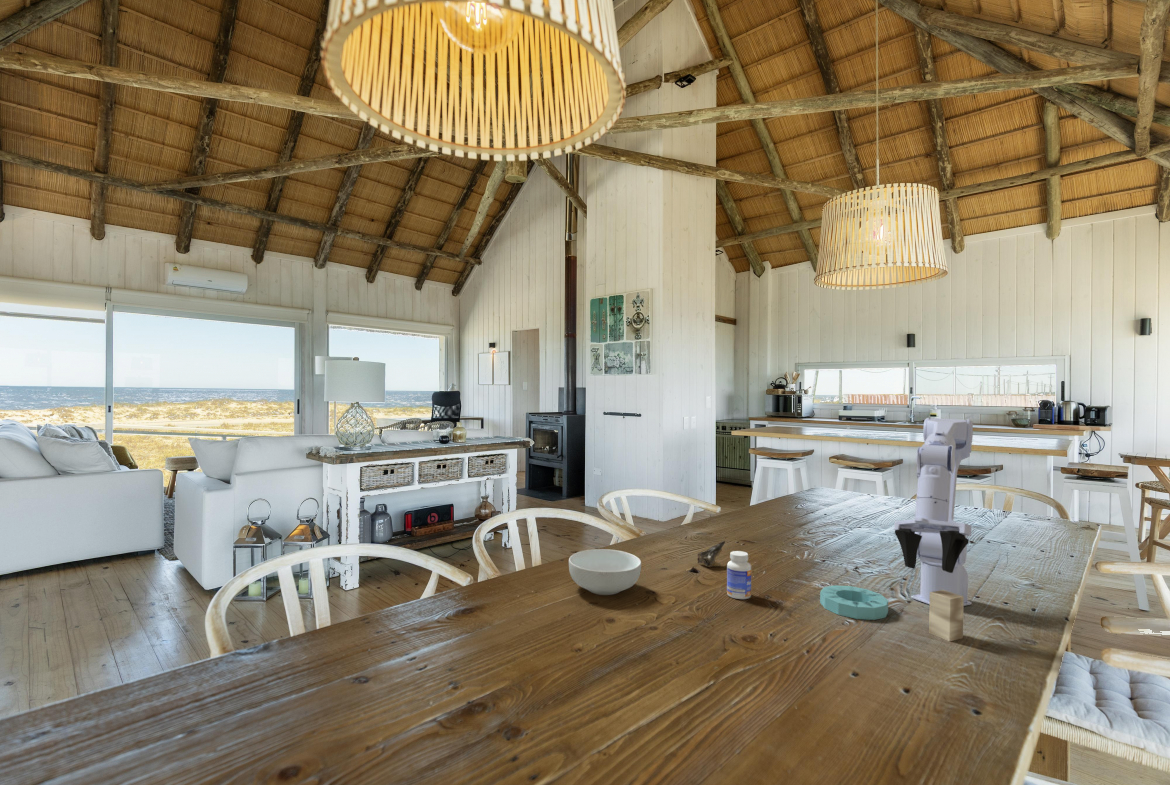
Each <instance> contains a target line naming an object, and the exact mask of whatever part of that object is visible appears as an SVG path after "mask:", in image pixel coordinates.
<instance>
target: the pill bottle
mask: <svg viewBox="0 0 1170 785" xmlns="http://www.w3.org/2000/svg"><path fill="white" fill-rule="evenodd" d="M729 554H730V555H729V559H730V560H729V561H728V562H727V565H726V593H727V596H728V597H730V598H733V599H736V600H748V599H750V598H751V597H752V564H751V563H750V562H748V561H749V554H748V552H746V551H743V550H742V551H741V550H732V551H730V553H729Z"/></svg>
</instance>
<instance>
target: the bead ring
mask: <svg viewBox="0 0 1170 785" xmlns="http://www.w3.org/2000/svg"><path fill="white" fill-rule="evenodd" d="M819 593H820V594H819V595H820V596H819V598H820V599H819V602H820V605H821V606H822V607H823V608H824V609H825V610H827V611H829V612H831V613H834V614H836V615H838V616H842V617H847V618H850V619H855V620H867V621H868V620H871V621H875V620H879V619H884V618H887V615H888V614H889V600H888V599H887V598H886V597H885V596H884V595H883V594H881V593H878V592H876V591H873V590H870V589H868V588H867V589H866V588H861V587H857V586H854V585H853V586H852V585H838V584H837V585H836V584H835V585H830V586H829V585H828V586H824V587H823V588H822V589H821V590H820V592H819Z"/></svg>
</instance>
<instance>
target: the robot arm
mask: <svg viewBox="0 0 1170 785" xmlns="http://www.w3.org/2000/svg"><path fill="white" fill-rule="evenodd" d="M922 429H923V432H922V434H923V441H924V442H923V444H922V445H921V446H918V447H917V449H916V457H915V458H916V459H915V461H916V477H917V486H916V499H915V500H916V501H915V513H914V517H913V519H905V520H895V521H894V527H893V528H894V535H895V536H896V538H897V540H898V543H899V544H900V548H901V551H902V556H903V561H904V562H903V563H904V566H905V567H907V568H909V569H916V564H917V558H919V562H920V589H919V590H920V593H918V594H914V595H911V599H913V600H916V601H919V602H922V603H924V604H926V605H929V606H930V592H934V591H939V590H945V591H948V592H951V593H954V594H957V595H960V596H963V597H964V603H963V607H966V606H970V605H972V601H970V600H968V599H969V597H968V596H969V595H968V594H969V592H968V588H969V574H968V571H967V569H966V568H965V566H964V565H965V564H966V562H967V555H968V554H967V551H968V545H969V540H970V539H968V538H967V536H968V537H970V536H972V525H970V524H968V523H966V522H965V523H964V522H956V521H955V520H954V517H955V515H954V514H955V504H956V490H957V480H958V479H957V478H958V471H959V468H960V465H961V462H962V461H963V460H965V459H967V458H970V455H971V454H970V453H972V447H973V446H972V444H973V435H974V430H973V429H974V428H973V421H972V420H971V419H970V418H967V419H963V418H962V419H961V418H959V419H958V418H934V417H926V418H925V419H924V421H923V427H922Z"/></svg>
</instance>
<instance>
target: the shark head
mask: <svg viewBox="0 0 1170 785" xmlns="http://www.w3.org/2000/svg"><path fill="white" fill-rule="evenodd" d="M725 544H726V541H725V540H724V541H721V542H719V543H717V544H715V545H713V546H711V547H709V549H707V550H705V551H701V552H698V553H697V564H699V565H700V566H705V567H707V568H713V567H721V563H720V562H717V561H716V558H717V557H719V556H720V555H721V554H722V552H723V547H724V545H725Z"/></svg>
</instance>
